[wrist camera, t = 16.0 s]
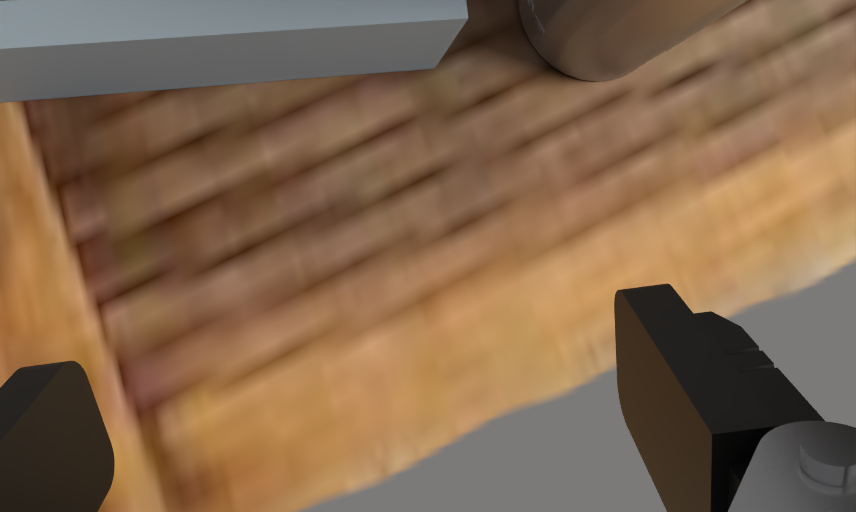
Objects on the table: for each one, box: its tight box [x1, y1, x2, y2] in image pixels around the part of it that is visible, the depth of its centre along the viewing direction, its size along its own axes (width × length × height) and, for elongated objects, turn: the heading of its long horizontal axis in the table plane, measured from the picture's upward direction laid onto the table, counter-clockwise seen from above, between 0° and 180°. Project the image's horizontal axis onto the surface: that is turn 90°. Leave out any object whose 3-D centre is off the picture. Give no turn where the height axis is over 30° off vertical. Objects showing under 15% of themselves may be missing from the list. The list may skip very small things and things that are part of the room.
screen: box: [0, 0, 468, 102], centre depth 36 cm, size 24×2×8 cm, turn 98°
